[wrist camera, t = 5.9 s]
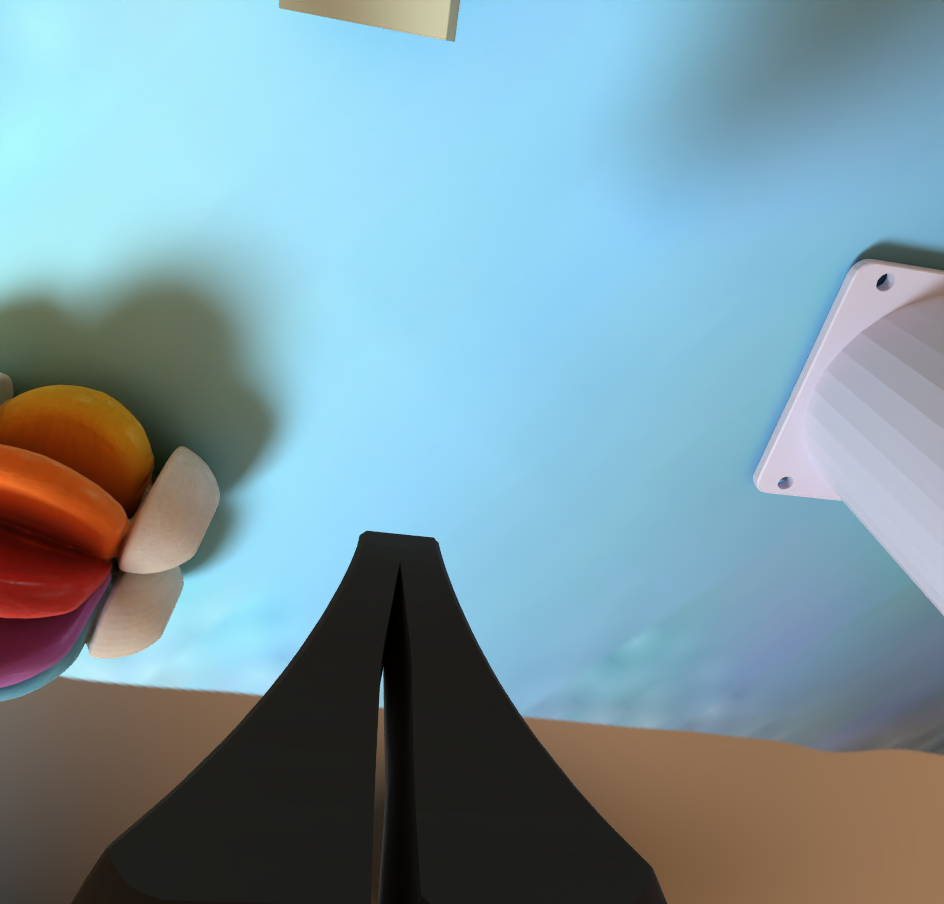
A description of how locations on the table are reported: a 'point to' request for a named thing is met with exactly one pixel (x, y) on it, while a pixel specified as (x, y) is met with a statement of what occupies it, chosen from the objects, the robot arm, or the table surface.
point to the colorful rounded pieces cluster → (88, 531)
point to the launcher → (388, 14)
